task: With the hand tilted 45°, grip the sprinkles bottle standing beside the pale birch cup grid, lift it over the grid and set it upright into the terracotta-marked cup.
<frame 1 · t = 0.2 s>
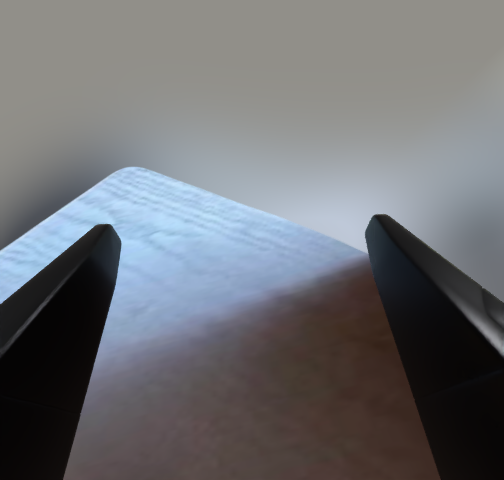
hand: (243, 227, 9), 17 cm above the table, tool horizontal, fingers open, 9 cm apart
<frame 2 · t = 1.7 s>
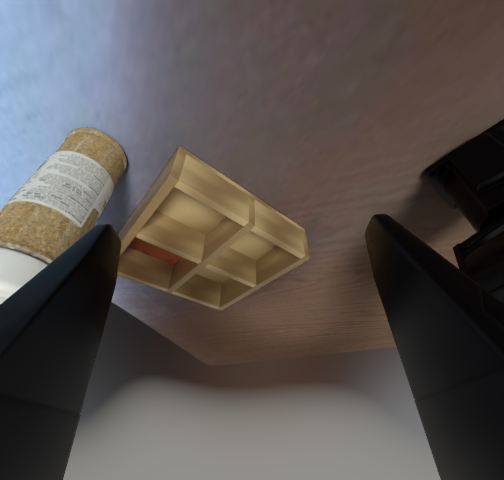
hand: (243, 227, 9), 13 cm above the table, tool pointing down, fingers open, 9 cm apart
sprinkles bottle: (100, 150, 21), on the table
grid: (207, 234, 29), on the table
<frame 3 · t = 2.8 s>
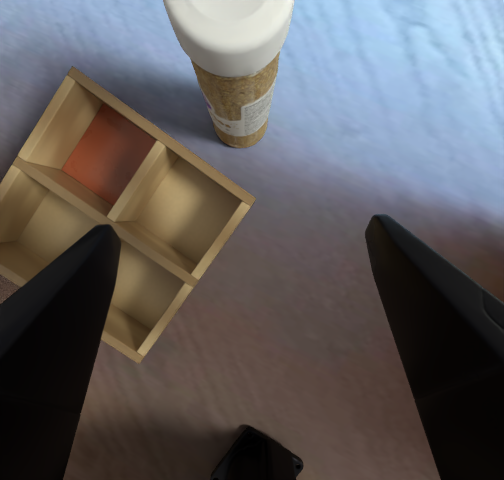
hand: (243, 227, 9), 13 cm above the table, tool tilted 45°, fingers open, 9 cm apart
sprinkles bottle: (241, 122, 22), on the table
grid: (132, 221, 22), on the table
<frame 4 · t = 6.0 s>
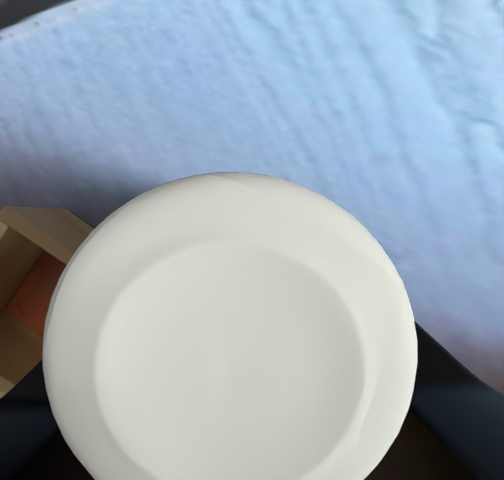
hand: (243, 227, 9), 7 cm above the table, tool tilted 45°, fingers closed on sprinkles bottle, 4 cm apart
sprinkles bottle: (246, 244, 16), on the table, touching gripper
grid: (101, 371, 17), on the table
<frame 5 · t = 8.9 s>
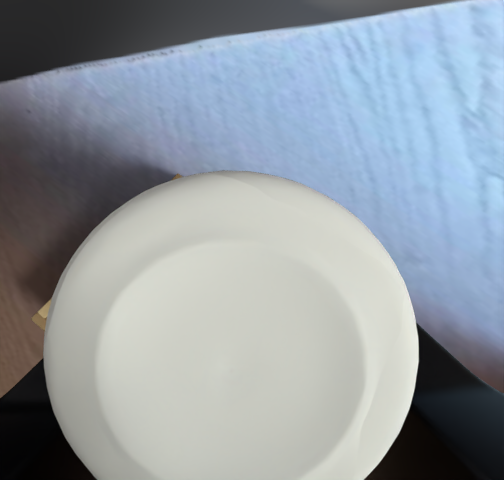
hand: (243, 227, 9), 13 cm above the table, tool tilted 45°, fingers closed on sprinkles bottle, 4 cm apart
sprinkles bottle: (246, 244, 16), point 6 cm above the table, touching gripper
grid: (190, 303, 23), on the table
when the fingers open (8 cm above the table, at t = 11.8 s): sprinkles bottle stays where it is, resting on grid.
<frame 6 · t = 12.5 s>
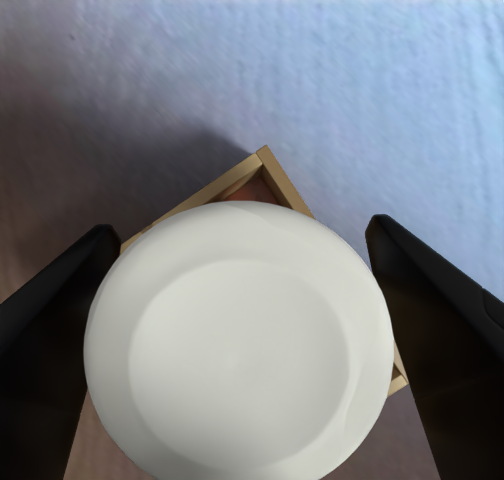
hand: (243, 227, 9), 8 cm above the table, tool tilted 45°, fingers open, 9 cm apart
sprinkles bottle: (246, 248, 17), point 1 cm above the table, touching grid
grid: (232, 315, 18), on the table
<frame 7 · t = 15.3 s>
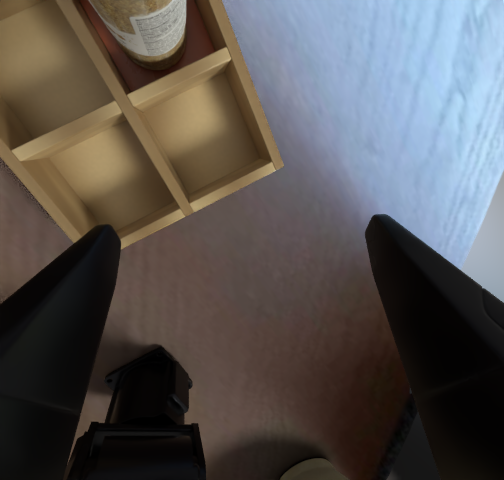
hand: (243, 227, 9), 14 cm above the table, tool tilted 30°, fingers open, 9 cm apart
planter bowl: (304, 474, 41), on the table
sprinkles bottle: (152, 33, 17), point 1 cm above the table, touching grid
grid: (136, 110, 19), on the table
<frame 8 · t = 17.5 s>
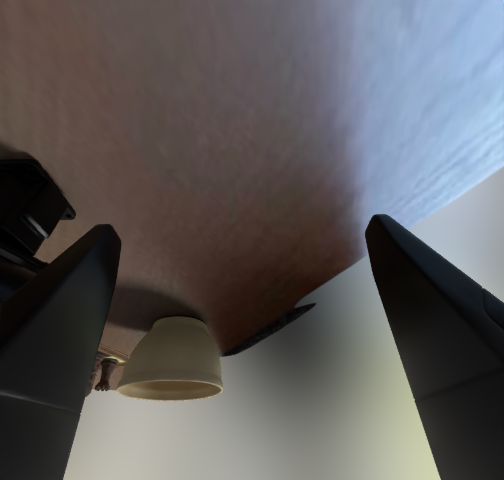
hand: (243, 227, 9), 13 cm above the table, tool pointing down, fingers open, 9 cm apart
planter bowl: (181, 324, 48), on the table
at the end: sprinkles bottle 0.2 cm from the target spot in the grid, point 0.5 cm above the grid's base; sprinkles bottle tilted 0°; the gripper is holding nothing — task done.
